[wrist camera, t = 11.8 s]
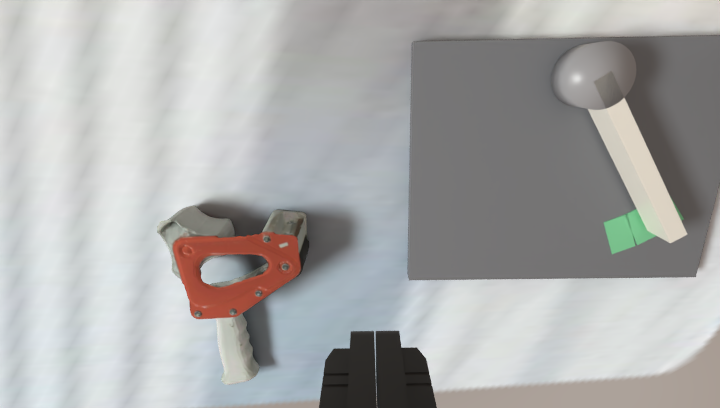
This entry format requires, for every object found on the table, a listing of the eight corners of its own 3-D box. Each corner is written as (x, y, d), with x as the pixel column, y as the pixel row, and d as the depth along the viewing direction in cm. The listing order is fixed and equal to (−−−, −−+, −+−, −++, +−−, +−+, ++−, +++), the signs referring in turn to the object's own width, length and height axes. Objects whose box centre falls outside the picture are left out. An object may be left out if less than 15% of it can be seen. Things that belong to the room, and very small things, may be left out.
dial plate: (411, 42, 35) (413, 41, 33) (741, 36, 34) (759, 34, 33) (407, 273, 41) (409, 280, 40) (684, 270, 41) (696, 277, 40)
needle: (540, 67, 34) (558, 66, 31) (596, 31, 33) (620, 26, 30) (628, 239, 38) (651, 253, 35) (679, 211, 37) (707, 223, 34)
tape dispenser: (246, 368, 48) (365, 264, 42) (231, 406, 43) (364, 294, 37) (116, 277, 43) (230, 147, 38) (84, 308, 38) (209, 163, 33)
